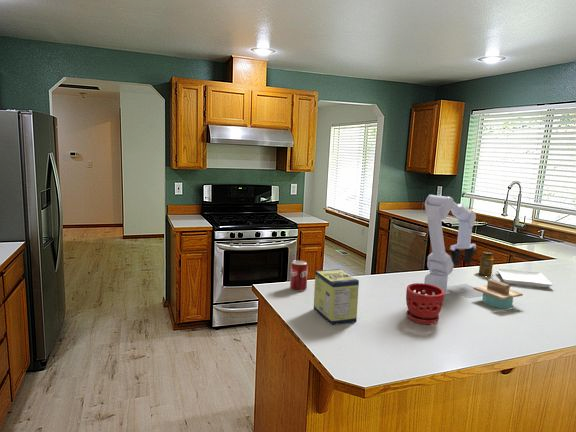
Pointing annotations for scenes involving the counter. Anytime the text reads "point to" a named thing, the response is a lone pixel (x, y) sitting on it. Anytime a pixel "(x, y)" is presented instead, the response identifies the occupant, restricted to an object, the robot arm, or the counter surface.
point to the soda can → (298, 275)
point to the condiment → (486, 265)
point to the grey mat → (465, 290)
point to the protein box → (336, 296)
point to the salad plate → (524, 278)
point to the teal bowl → (497, 301)
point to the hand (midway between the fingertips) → (461, 264)
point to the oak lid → (498, 290)
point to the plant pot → (424, 302)
